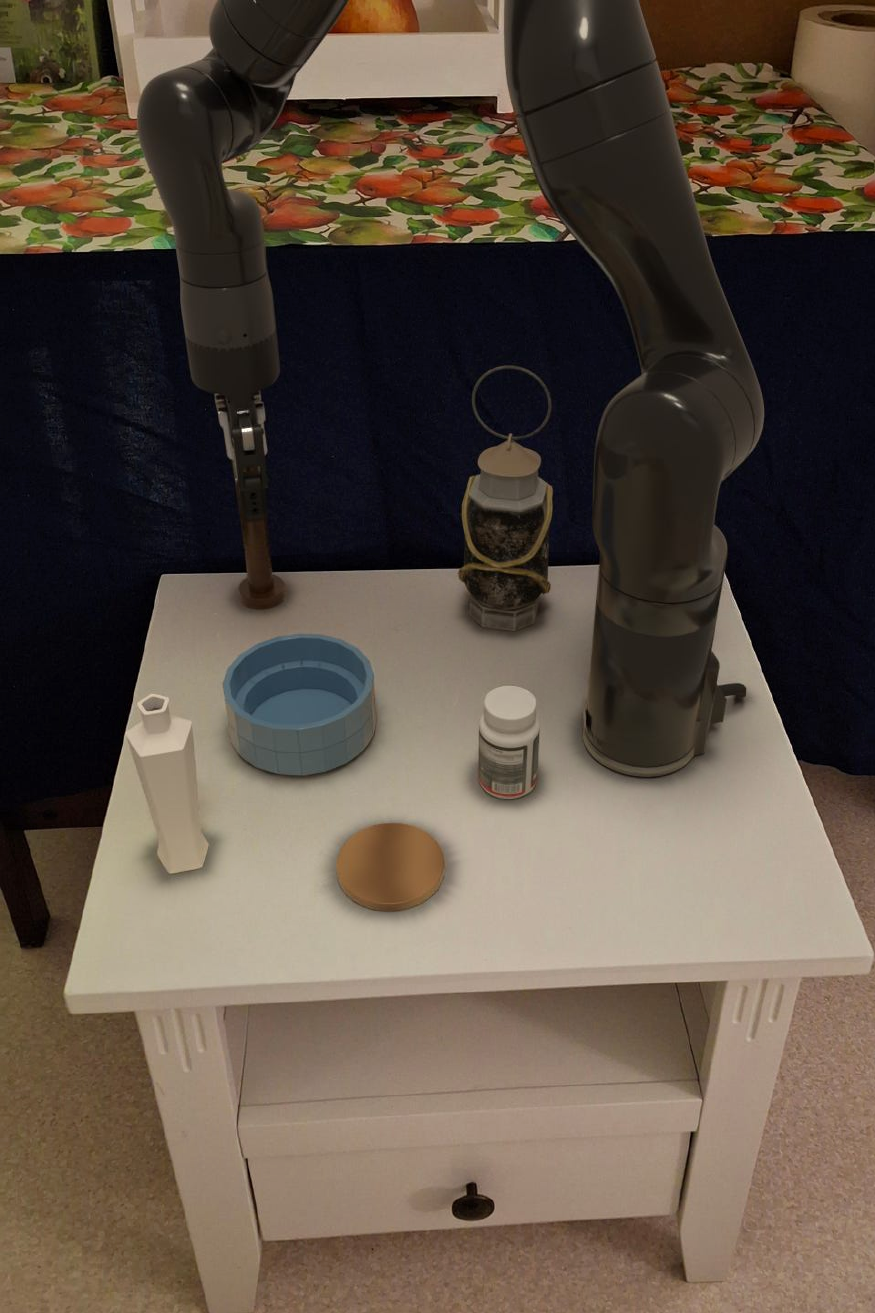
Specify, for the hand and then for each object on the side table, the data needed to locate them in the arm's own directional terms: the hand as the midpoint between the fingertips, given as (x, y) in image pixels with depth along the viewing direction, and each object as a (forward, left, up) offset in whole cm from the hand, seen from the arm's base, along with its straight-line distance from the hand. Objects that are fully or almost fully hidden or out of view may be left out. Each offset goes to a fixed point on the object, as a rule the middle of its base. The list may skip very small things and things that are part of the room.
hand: (250, 497), depth 111 cm
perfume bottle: (+10, +32, -11) cm, 35 cm away
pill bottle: (-16, +30, -11) cm, 36 cm away
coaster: (-5, +37, -11) cm, 39 cm away
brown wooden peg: (0, 0, -11) cm, 11 cm away
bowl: (-1, +20, -11) cm, 23 cm away
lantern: (-22, +8, -11) cm, 26 cm away
